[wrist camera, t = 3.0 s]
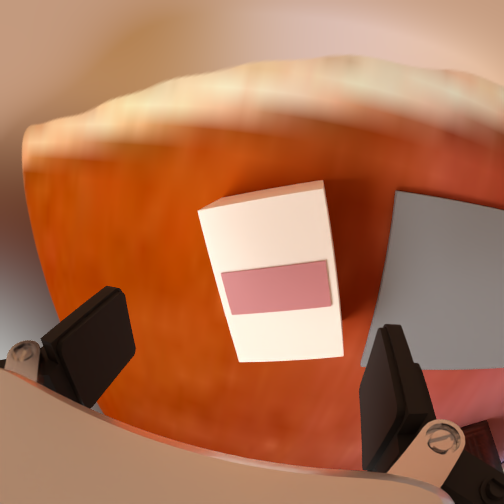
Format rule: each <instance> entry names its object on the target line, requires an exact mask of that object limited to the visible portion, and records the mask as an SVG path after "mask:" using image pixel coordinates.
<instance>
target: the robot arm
mask: <svg viewBox="0 0 504 504" xmlns="http://www.w3.org/2000/svg"><path fill="white" fill-rule="evenodd" d="M41 341H42V343H43V347H42V348H40V346H39V344H38V343H37V342H35V341H31V340H30V341H28V340H27V341H22V342H19V343H17V344H15V345H14V346H13V347H12V348H11V349H10V350H9V352H8V355H7V359H4V360H0V504H504V474H503V473H501V472H500V471H498V470H496V469H495V468H493V467H492V466H490V465H488V464H487V463H485V462H483V461H482V460H480V459H479V458H477V457H475V456H474V455H472V454H471V453H469V452H467V451H466V450H464V446H465V436H464V433H463V431H462V430H461V429H460V427H459V426H458V425H456V424H455V423H453V422H451V421H448V420H443V419H438V420H436V416H435V413H434V409H433V405H432V402H431V398H430V395H429V392H428V388H427V385H426V382H425V379H424V376H423V372H422V369H421V367H420V365H419V364H418V363H414V362H413V358H412V355H411V352H410V349H409V346H408V343H407V340H406V337H405V335H404V332H403V329H402V326H401V325H398V324H384V326H383V328H378V330H377V333H376V336H375V340H374V343H373V347H372V350H371V353H370V357H369V360H368V363H367V366H366V369H365V372H364V375H363V378H362V381H361V384H360V389H359V398H360V413H361V434H362V468H363V470H367V471H354V470H341V469H326V468H314V467H305V466H296V465H289V464H281V463H274V462H267V461H261V460H255V459H250V458H244V457H239V456H234V455H229V454H225V453H220V452H216V451H212V450H208V449H204V448H200V447H196V446H193V445H189V444H185V443H182V442H178V441H175V440H172V439H168V438H165V437H162V436H159V435H156V434H153V433H150V432H147V431H144V430H142V429H139V428H136V427H133V426H131V425H128V424H125V423H123V422H120V421H118V420H115V419H113V418H110V417H108V416H105V415H103V414H101V413H98V412H96V411H94V410H92V409H90V408H91V407H93V405H94V404H95V403H96V402H97V400H98V399H99V398H100V397H101V395H102V394H103V393H104V392H105V390H106V389H107V388H108V387H109V385H110V384H111V383H112V382H113V380H114V379H115V378H116V377H117V375H118V374H119V373H120V372H121V370H122V369H123V368H124V367H125V366H126V364H127V363H128V362H129V361H130V359H131V358H132V357H133V356H134V354H135V349H136V348H135V343H134V338H133V334H132V329H131V324H130V319H129V314H128V309H127V304H126V298H125V295H124V293H122V291H121V289H119V288H115V287H111V286H106V287H104V288H103V289H102V290H100V291H99V292H98V293H96V294H95V295H94V296H93V297H91V298H90V299H89V300H88V301H86V302H85V303H84V304H82V305H81V306H80V307H79V308H77V309H76V310H75V311H74V312H72V313H71V314H70V315H69V316H67V317H66V318H65V319H64V320H62V321H61V322H60V323H59V324H58V325H56V326H55V327H54V328H53V329H51V330H50V331H49V332H48V333H47V334H45V335H44V336H43V337H42V338H41ZM501 465H502V468H503V472H504V463H503V464H501Z"/></svg>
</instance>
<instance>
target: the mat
mask: <svg viewBox="0 0 504 504" xmlns="http://www.w3.org/2000/svg"><path fill="white" fill-rule="evenodd" d="M384 324H398V325H401V326H402V329H403V332H404V335H405V337H406V340H407V343H408V346H409V349H410V352H411V355H412V358H413V362H414V363H418V364H419V365H420V367H421V369H424V370H459V369H489V368H504V210H501V209H497V208H492V207H487V206H483V205H478V204H473V203H468V202H463V201H458V200H452V199H447V198H441V197H435V196H429V195H423V194H417V193H410V192H404V191H397V190H396V191H395V199H394V207H393V215H392V222H391V229H390V235H389V242H388V247H387V253H386V259H385V264H384V269H383V274H382V279H381V284H380V289H379V294H378V298H377V302H376V307H375V311H374V315H373V319H372V323H371V327H370V331H369V335H368V338H367V342H366V346H365V349H364V353H363V356H362V360H361V367H366V366H367V363H368V360H369V357H370V353H371V350H372V347H373V343H374V340H375V336H376V333H377V330H378V328H383V326H384Z"/></svg>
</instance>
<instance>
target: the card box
mask: <svg viewBox="0 0 504 504" xmlns="http://www.w3.org/2000/svg"><path fill="white" fill-rule="evenodd" d="M198 214H199V218H200V222H201V226H202V230H203V234H204V238H205V242H206V246H207V249H208V253H209V257H210V261H211V264H212V268H213V272H214V276H215V279H216V283H217V287H218V290H219V294H220V297H221V301H222V304H223V308H224V311H225V315H226V318H227V322H228V325H229V329H230V332H231V336H232V339H233V342H234V346H235V349H236V352H237V356H238V359H239V362H264V361H287V360H304V359H317V358H329V357H340V356H343V331H342V316H341V305H340V295H339V286H338V277H337V269H336V261H335V253H334V245H333V238H332V231H331V225H330V218H329V212H328V205H327V199H326V193H325V188H324V182H323V180H319V181H313V182H306V183H300V184H294V185H288V186H282V187H276V188H271V189H265V190H260V191H254V192H249V193H244V194H238V195H233V196H228V197H223V198H221V199H219V200H217V201H215V202H213V203H211V204H209V205H207V206H206V207H204V208H202V209H200V210H198Z"/></svg>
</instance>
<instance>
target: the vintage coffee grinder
mask: <svg viewBox="0 0 504 504" xmlns="http://www.w3.org/2000/svg"><path fill="white" fill-rule="evenodd" d="M460 429H461V430H462V431H463V433H464V436H465V446H464V450H466V451H467V452H469V453H471V454H472V455H474V456H475V457H477V458H479V459H480V460H482V461H483V462H485V463H487V464H488V465H490V466H492V467H493V468H495V469H496V470H498V471H500V472H501V473H503V474H504V472H503V468H502V465H501V461H500V458H499V455H498V452H497V449H496V446H495V443H494V440H493V437H492V434H491V431H490V428H489V425H488V422H487V420H486V421H483V422H479V423H476V424H472V425H469V426H466V427H463V428H460Z"/></svg>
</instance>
